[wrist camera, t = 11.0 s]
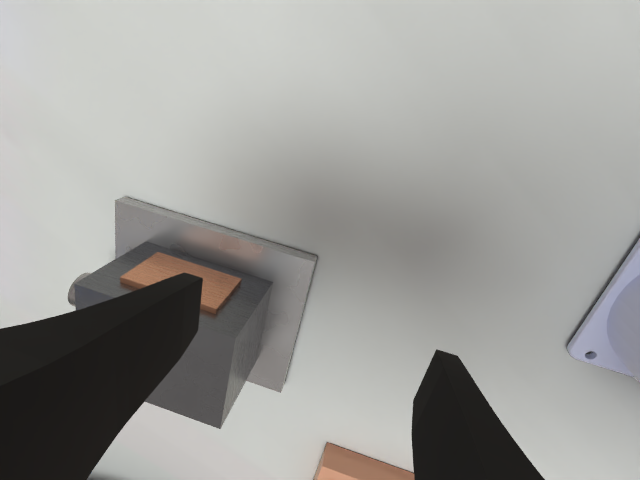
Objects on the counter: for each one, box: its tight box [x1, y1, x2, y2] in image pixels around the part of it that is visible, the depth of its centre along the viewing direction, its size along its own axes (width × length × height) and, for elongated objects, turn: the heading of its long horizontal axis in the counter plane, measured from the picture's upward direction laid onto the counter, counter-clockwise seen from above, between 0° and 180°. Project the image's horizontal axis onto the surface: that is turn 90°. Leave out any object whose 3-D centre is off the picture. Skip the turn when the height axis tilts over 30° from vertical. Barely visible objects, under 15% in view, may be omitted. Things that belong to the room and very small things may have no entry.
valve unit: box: [68, 197, 317, 429], centre depth 20 cm, size 12×10×6 cm
